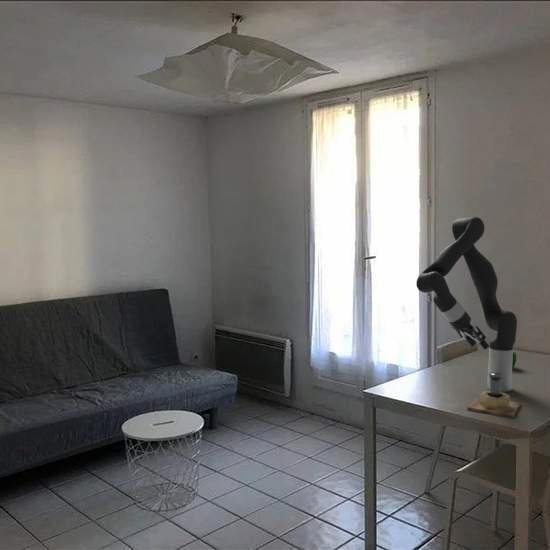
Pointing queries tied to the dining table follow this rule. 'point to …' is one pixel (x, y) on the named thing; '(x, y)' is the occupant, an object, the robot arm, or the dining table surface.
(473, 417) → the dining table surface
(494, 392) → the steel pin
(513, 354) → the bell pepper
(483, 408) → the nut base
